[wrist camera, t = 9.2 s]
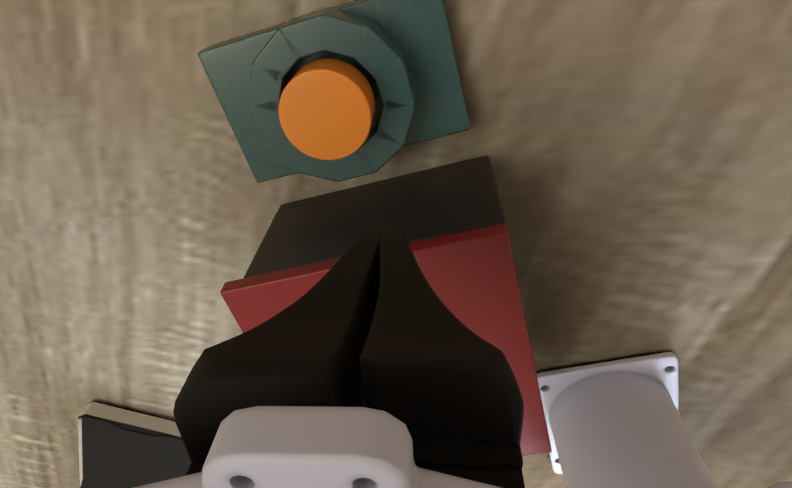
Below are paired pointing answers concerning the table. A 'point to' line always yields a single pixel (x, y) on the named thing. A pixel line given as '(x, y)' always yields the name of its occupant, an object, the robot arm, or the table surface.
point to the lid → (454, 285)
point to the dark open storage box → (381, 214)
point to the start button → (327, 109)
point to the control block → (364, 49)
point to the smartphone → (127, 448)
